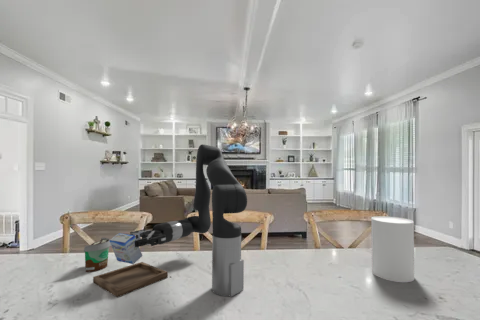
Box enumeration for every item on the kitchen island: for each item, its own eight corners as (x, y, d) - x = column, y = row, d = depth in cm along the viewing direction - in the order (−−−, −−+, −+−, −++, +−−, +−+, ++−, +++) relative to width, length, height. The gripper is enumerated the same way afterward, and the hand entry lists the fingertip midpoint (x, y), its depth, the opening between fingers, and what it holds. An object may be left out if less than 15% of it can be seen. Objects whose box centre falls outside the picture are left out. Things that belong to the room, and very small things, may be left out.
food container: (99, 274, 95) (100, 246, 96) (83, 273, 95) (83, 245, 96) (116, 261, 108) (117, 237, 108) (101, 261, 108) (102, 237, 108)
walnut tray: (167, 277, 92) (167, 271, 92) (117, 297, 78) (117, 290, 78) (141, 267, 102) (141, 261, 102) (93, 282, 88) (93, 276, 88)
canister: (371, 277, 94) (370, 220, 94) (372, 265, 106) (371, 215, 106) (416, 285, 88) (415, 224, 88) (412, 271, 100) (411, 218, 100)
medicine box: (117, 261, 90) (108, 240, 87) (127, 252, 94) (118, 232, 91) (133, 264, 86) (124, 243, 84) (143, 255, 90) (134, 234, 87)
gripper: (156, 219, 107) (117, 227, 94) (179, 225, 98) (140, 234, 85) (156, 238, 107) (117, 248, 94) (179, 245, 98) (140, 257, 85)
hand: (128, 241), depth 90 cm, fingers closed on medicine box, 8 cm apart
